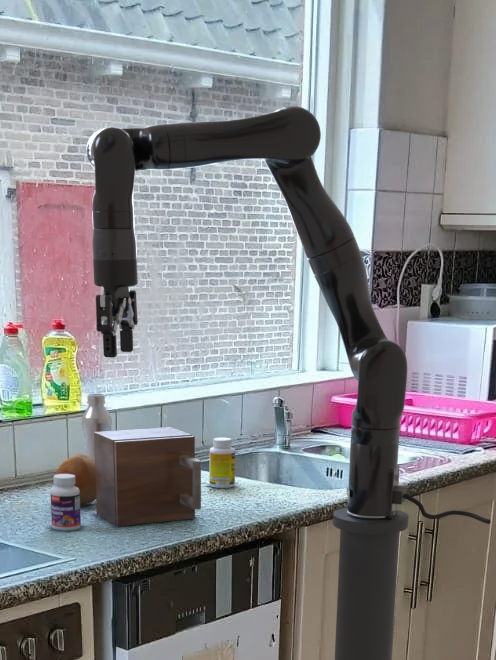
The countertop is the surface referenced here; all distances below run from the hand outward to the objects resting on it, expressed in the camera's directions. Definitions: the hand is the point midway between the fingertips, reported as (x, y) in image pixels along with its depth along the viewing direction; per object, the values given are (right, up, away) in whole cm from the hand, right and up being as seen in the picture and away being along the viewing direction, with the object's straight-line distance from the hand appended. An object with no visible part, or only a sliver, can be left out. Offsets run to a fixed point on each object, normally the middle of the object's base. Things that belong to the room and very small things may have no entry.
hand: (118, 354), depth 212 cm
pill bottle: (-11, -29, +12) cm, 33 cm away
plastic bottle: (-9, -17, +44) cm, 47 cm away
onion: (-11, -22, +31) cm, 39 cm away
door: (+7, -28, +14) cm, 32 cm away
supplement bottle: (+17, -14, +50) cm, 55 cm away
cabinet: (+3, -25, +22) cm, 33 cm away
